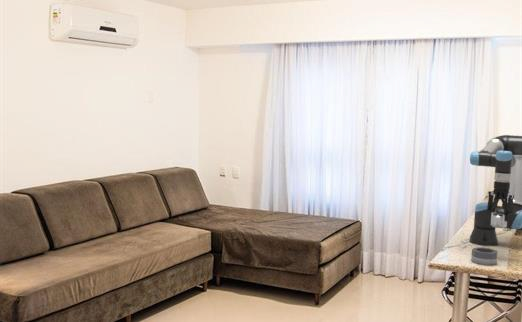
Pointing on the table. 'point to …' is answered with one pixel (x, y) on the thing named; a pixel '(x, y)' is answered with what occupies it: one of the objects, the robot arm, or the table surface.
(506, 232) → the table surface
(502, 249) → the table surface
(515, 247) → the table surface
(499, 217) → the cap
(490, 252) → the grey short cylinder
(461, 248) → the table surface
